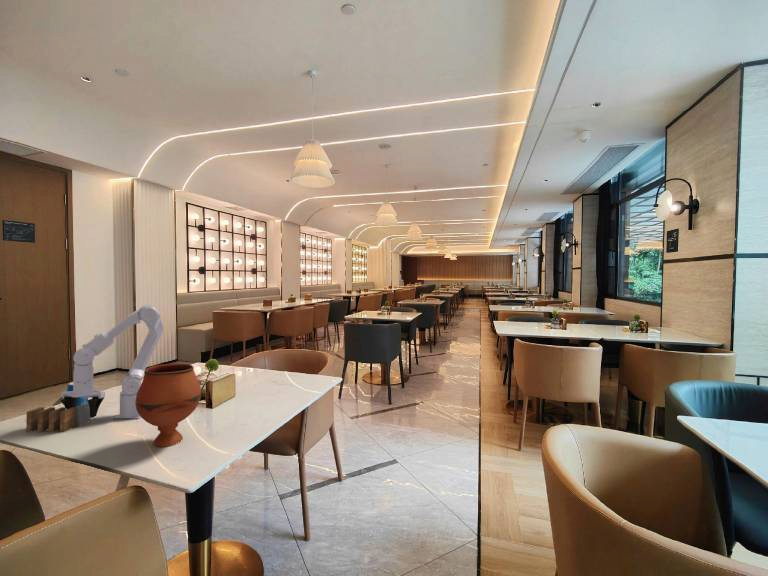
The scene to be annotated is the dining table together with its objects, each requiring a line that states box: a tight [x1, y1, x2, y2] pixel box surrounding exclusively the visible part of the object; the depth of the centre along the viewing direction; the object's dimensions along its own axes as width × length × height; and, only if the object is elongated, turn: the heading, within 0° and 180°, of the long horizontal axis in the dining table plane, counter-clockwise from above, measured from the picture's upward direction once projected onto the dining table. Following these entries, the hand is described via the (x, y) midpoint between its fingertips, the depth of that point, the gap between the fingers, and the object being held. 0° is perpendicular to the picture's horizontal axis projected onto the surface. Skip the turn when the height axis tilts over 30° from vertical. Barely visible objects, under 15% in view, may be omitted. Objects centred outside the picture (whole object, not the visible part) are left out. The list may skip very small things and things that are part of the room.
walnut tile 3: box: [48, 406, 66, 433], centre depth 128 cm, size 2×5×7 cm, turn 2°
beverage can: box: [66, 381, 89, 406], centre depth 145 cm, size 6×6×12 cm
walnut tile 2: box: [59, 407, 77, 433], centre depth 128 cm, size 2×5×7 cm, turn 2°
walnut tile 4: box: [37, 406, 56, 433], centre depth 128 cm, size 2×5×7 cm, turn 2°
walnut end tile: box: [25, 406, 45, 433], centre depth 128 cm, size 2×5×7 cm, turn 2°
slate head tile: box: [76, 403, 91, 427], centre depth 134 cm, size 2×5×7 cm, turn 2°
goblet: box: [135, 363, 202, 448], centre depth 120 cm, size 19×19×25 cm
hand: (82, 416), depth 134 cm, fingers open, 7 cm apart
